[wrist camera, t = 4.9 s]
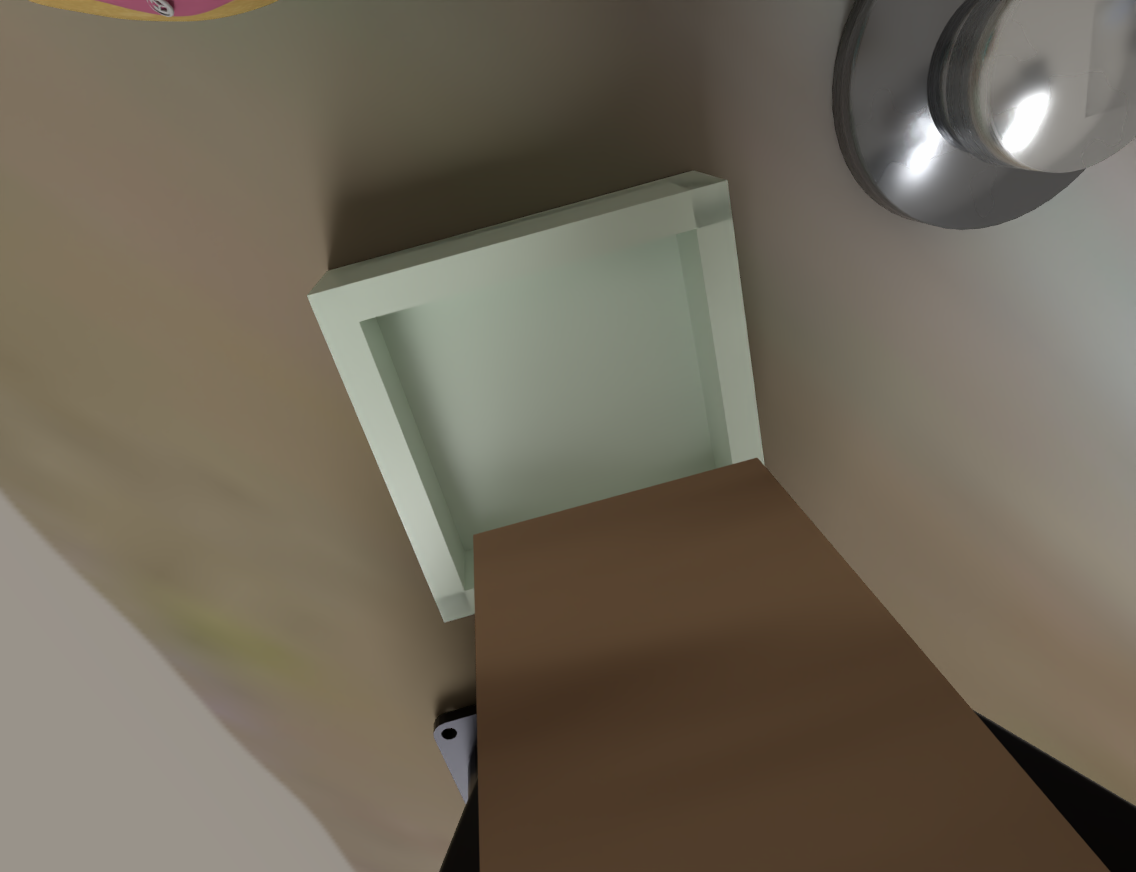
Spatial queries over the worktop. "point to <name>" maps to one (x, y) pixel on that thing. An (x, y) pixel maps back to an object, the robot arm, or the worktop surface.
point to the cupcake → (159, 8)
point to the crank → (1044, 82)
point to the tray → (546, 364)
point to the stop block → (725, 703)
